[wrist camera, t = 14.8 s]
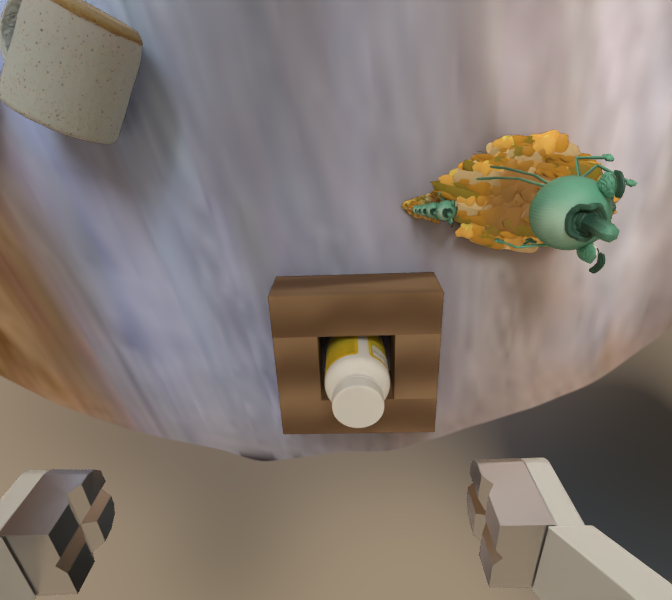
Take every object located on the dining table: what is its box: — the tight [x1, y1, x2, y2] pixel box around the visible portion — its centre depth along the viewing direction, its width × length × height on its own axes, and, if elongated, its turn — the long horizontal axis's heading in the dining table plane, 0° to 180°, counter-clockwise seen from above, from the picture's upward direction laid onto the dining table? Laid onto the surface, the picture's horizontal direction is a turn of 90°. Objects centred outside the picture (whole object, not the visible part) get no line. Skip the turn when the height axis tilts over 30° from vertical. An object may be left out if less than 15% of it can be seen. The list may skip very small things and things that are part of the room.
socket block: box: [268, 272, 444, 434], centre depth 40 cm, size 14×14×4 cm
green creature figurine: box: [402, 130, 637, 273], centre depth 30 cm, size 10×18×15 cm, turn 83°
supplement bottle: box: [325, 335, 390, 428], centre depth 37 cm, size 5×5×10 cm
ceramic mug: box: [0, 0, 143, 144], centre depth 29 cm, size 10×8×7 cm
